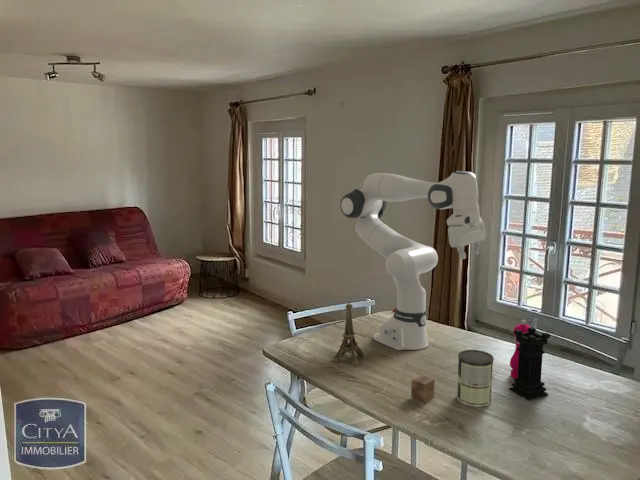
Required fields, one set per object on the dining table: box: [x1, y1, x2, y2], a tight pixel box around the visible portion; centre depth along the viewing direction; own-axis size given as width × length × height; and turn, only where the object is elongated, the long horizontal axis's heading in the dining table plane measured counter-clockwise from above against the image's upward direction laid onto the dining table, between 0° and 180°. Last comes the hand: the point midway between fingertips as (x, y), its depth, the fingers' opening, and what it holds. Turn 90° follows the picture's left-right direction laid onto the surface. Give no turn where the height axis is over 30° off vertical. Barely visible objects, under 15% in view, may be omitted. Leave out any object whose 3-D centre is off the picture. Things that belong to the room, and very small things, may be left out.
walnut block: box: [410, 374, 435, 404], centre depth 161 cm, size 5×5×6 cm
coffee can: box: [456, 349, 495, 408], centre depth 159 cm, size 10×10×14 cm
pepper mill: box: [509, 319, 531, 380], centre depth 175 cm, size 7×7×20 cm
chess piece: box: [508, 326, 551, 402], centre depth 163 cm, size 8×8×20 cm
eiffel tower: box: [330, 302, 368, 367], centre depth 190 cm, size 11×11×25 cm
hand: (469, 256), depth 183 cm, fingers open, 8 cm apart
